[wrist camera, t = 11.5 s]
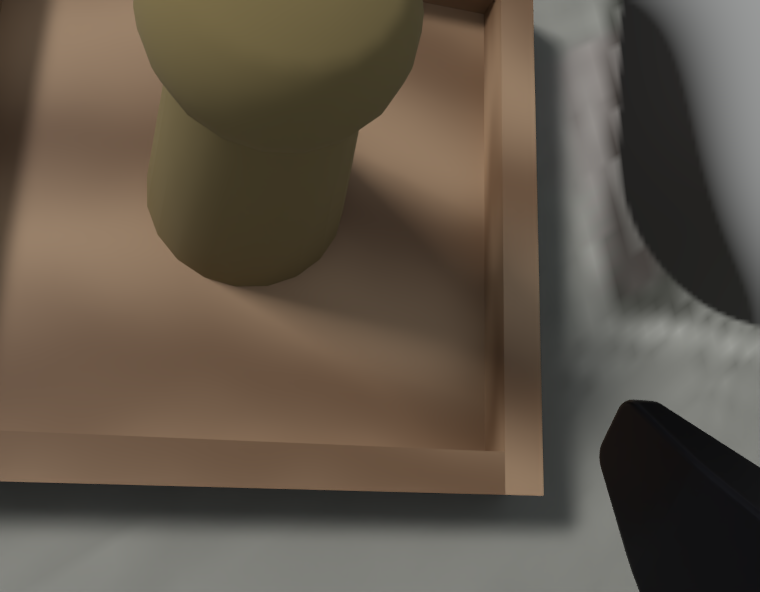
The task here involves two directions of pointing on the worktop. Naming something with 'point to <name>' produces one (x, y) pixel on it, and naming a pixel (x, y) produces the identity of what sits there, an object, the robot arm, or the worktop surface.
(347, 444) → the walnut tray
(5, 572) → the worktop surface
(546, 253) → the worktop surface
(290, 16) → the cork
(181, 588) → the worktop surface
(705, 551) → the robot arm
